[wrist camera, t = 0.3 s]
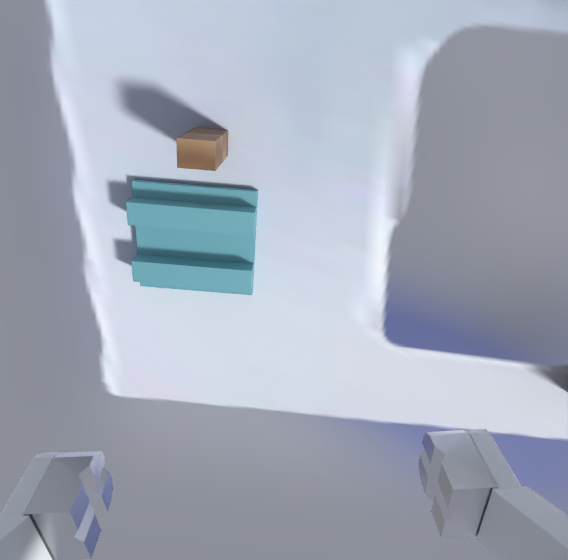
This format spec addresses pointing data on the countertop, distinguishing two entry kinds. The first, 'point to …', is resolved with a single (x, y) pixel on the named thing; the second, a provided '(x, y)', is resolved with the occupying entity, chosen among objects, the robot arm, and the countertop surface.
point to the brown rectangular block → (202, 149)
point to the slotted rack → (193, 236)
